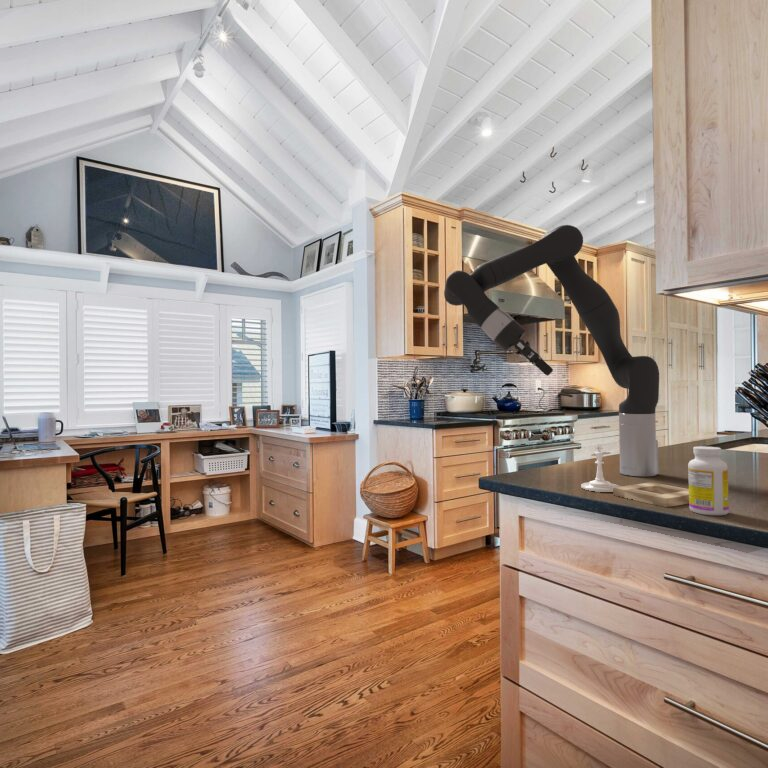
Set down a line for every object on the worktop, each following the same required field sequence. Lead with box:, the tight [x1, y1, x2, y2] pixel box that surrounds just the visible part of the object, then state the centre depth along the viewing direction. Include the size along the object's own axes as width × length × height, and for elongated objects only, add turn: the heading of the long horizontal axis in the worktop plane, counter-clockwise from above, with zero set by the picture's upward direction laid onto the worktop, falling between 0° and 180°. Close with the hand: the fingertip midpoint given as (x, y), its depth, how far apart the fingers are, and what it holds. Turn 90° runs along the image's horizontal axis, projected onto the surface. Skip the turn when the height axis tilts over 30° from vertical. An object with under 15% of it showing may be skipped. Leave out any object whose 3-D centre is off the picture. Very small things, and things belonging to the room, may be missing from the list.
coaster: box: [580, 481, 621, 493], centre depth 124 cm, size 9×9×1 cm
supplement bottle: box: [687, 445, 730, 517], centre depth 100 cm, size 7×7×13 cm
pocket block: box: [612, 481, 689, 508], centre depth 113 cm, size 13×13×2 cm
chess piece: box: [588, 444, 611, 488], centre depth 124 cm, size 5×5×10 cm
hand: (550, 372), depth 128 cm, fingers open, 8 cm apart
